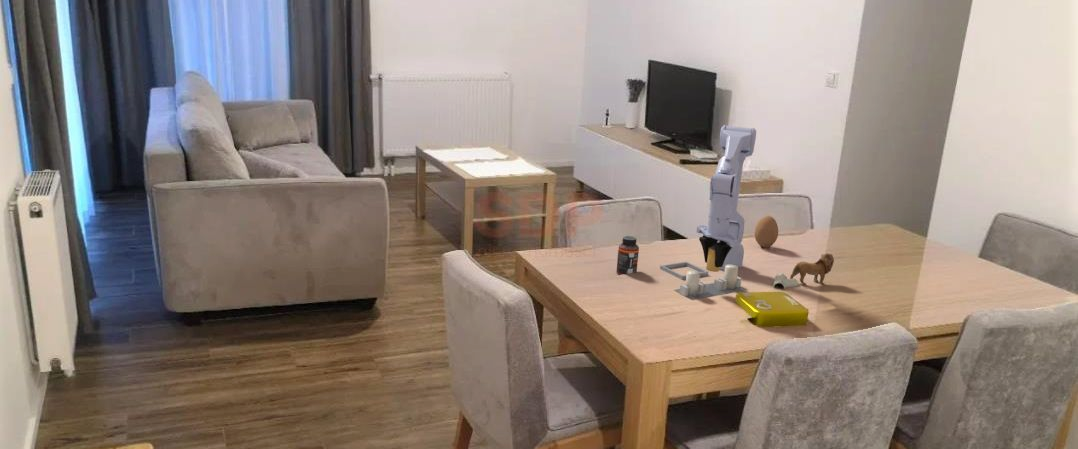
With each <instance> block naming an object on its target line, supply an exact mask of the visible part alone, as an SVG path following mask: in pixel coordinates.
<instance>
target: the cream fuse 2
mask: <svg viewBox="0 0 1078 449" xmlns="http://www.w3.org/2000/svg"><path fill="white" fill-rule="evenodd" d="M738 273H739V267H738V266H736V265H730V264H729V265H725V270H724V273H723V279H725V280H727V288H728V289H734V288H736V281H737V276H738Z"/></svg>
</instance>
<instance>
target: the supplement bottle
mask: <svg viewBox="0 0 1078 449" xmlns="http://www.w3.org/2000/svg"><path fill="white" fill-rule="evenodd" d="M621 241H622V243H620V244H619V245H618V250H617V260H616V262H617V263H616V274H617V275H618V276H621V275H628V274H634V273H637V272H638V262H639V250H640V247H639V245H638V244H637V237H635V236H631V235H630V236H629V235H625V236H623V237H622V240H621Z"/></svg>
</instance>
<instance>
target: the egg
mask: <svg viewBox="0 0 1078 449" xmlns="http://www.w3.org/2000/svg"><path fill="white" fill-rule="evenodd" d="M778 237H779V227H778V223H777V221H776V219H775V218H774V217H772V216H771V215H765V216H763V217H762V218H760V219H759V220H758V222H757V223H756V225H755V229H754V239H755V241H756V243H757V244H758V245H759V246H760V247H762V248H763V249H764V248H765V249H766V248H767V249H768V248H769V247H772V246H773V245H774V244H775V243H776V241H777V239H778Z"/></svg>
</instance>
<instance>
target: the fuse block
mask: <svg viewBox="0 0 1078 449" xmlns="http://www.w3.org/2000/svg"><path fill="white" fill-rule="evenodd" d="M713 280H714V282H712V283H707V282H705V281H704V280H702V281H700V280H699V288H698V295H696V296H691V295H688V290H689V287H687V286H685V284H680V286H679V288H677V289H673V291H674V292H676V293H678V294H680V295H682V296H684V297H686V298H688V299H690V300H692V301H694V300H698V299H699V300H700V299H705V298H711V297H717V296H721V295H727V294H732V293H740V292H744V291H747V289H746V288H744V287H742V286H741V284H742V277H739V276H738V275H737V281H736V288H734V289H728V288H727V280H725V279H724V277H719V278H715V279H713Z"/></svg>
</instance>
